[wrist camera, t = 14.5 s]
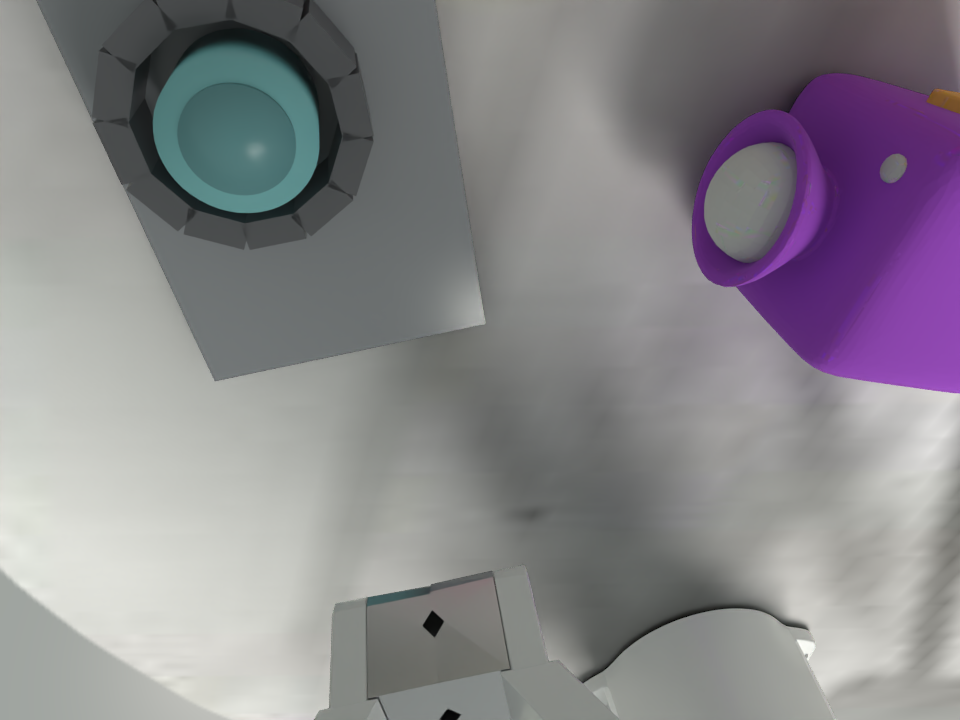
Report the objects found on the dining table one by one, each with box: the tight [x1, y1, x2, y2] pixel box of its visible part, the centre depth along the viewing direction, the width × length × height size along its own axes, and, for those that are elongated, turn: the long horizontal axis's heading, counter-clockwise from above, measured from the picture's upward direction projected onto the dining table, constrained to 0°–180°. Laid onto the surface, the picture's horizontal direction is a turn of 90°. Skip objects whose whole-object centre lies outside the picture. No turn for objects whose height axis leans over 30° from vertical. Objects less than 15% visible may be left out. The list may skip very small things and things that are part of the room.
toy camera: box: [692, 73, 960, 393], centre depth 28 cm, size 11×14×10 cm
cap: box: [153, 28, 319, 213], centre depth 23 cm, size 5×5×4 cm
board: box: [36, 0, 485, 381], centre depth 27 cm, size 16×12×1 cm
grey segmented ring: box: [92, 0, 374, 250], centre depth 23 cm, size 8×8×2 cm
